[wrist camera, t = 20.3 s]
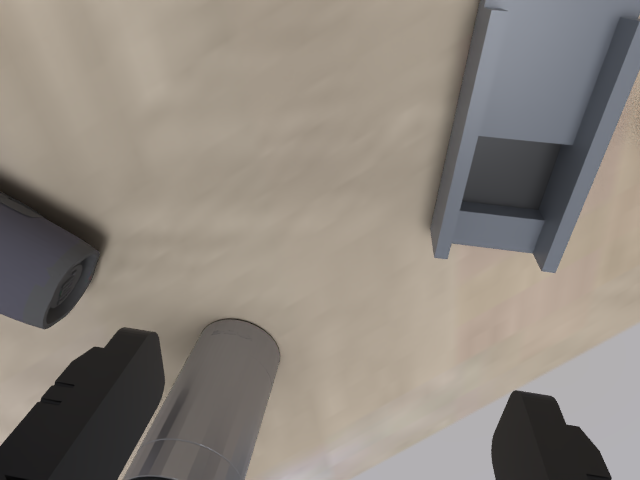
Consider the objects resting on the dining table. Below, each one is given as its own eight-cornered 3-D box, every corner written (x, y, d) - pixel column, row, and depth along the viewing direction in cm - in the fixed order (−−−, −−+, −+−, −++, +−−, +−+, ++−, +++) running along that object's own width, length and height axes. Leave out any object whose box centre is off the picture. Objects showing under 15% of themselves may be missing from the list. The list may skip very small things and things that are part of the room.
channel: (538, 241, 37) (555, 272, 33) (430, 228, 38) (434, 257, 34) (713, -227, 22) (778, -268, 19) (530, -231, 23) (556, -271, 19)
